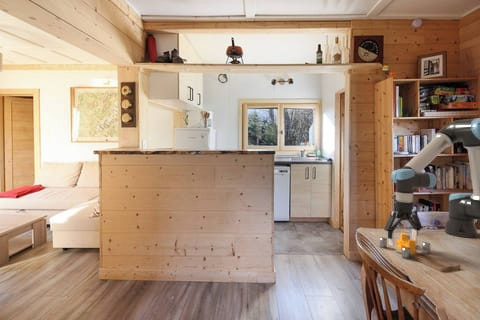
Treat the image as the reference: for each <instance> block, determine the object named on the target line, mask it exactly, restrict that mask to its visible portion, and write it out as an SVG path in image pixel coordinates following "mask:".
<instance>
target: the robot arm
mask: <svg viewBox="0 0 480 320" xmlns="http://www.w3.org/2000/svg"><path fill="white" fill-rule="evenodd" d="M455 143H462V145H463V146H462V147H463V148H464V149H466V150H467V154H468V162H469V170H470V176H471V177H470V179H471V185H472V192H471V193H470V192H469V193H468V192H456V193H454V192H453V193H450V194H449V197H448V219H447V222H446V224H445V226H444V232H445V234H448V235H449V236H450V235H451V236H454V237H455V236H456V237H459V238H477V237H478V230H477V227H476V224H475V220H476V221H477V220H478V221H480V117H479V118H477V117H476V118H468V119H467V118H466V119H457V120H453V121H452V122H449V123H447V124H446V125H445V126H443V127H442V128H441V129H439V130H438V131H437V132H436V133H435V134H434V136H433V138H432V139H431V140H430V141H429V142H428V143H427V144H426V145H425V146H424V147H423V148H422V149H421V150H419V152H417V153H416V154H415V155H414V156H413V158H411V159H410V160H409V161H408V162H407V163H406V164H405V165H404V166H403V167H402V168H398V169H394V170H393V171H392V172H391V175H390V178H391V181H392V182H393V183H395V184H396V185H395V200H396V201H395V205H394V207H395V209H396V210H395V211H393V210H391V211H390V212H389V217H388V219H387V222H386V224H385V226H384V228H383V230H384V231H386V232H387V238H388V246H389V245H390V246H391V247H394V246H395V232H394V231H395V230H396V228H397V227H398V226H399V224H400V223H401V222H402V221H407V222H408V223H409V224H410V226H411V227H412V228H411V236H410V238H411V239H410V240H415V241H416V243H415V245H416V244H418V237H419V231H421V229H422V228H423V226H422V223H421V220H420V218H419V215H418V210H416V209H414V202H413V201H414V193H415V192H414V190H415V189H432V188H435V186H436V185H437V181H438V180H437V179H438V178H437V177H436V175H435V174H434V173H432V172H422V171H423V170H424V169H425V168H426V167H427V166H429V164H430V163H431V162H432V161H434V159H436V157H438V156H439V155H440V154H441V153H442V152H443V151H445V149H446V148H449V147H451V146H452V145H454V144H455Z"/></svg>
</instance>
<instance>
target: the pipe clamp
mask: <svg viewBox="0 0 480 320" xmlns="http://www.w3.org/2000/svg"><path fill="white" fill-rule="evenodd" d="M407 235H408V234H407V233H406V232H405V233H401V232H400V236H399V239H398V238H397V239H396V247H398V248H399V250H401V251H402V247H408V248H410V254H414V253H416V244H415V243H416V241H415V240H411V239H410V240H408V237H407Z"/></svg>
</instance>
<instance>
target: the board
mask: <svg viewBox="0 0 480 320" xmlns="http://www.w3.org/2000/svg"><path fill="white" fill-rule="evenodd" d="M410 259H412V260H415V261H417V262H419V263H421V264H424V265H426V266H427V267H429V268H432V269H434V270H437V271H438V272H441V273H442V272H449V271H455V270H461V264H457V265H456V264H453V263H450V262H447V261H445V260H442V259H441V258H438V257H436V256H434V255H431V254H428V252H422V251H421V252H415V253H414V254H410Z"/></svg>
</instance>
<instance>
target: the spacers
mask: <svg viewBox="0 0 480 320" xmlns="http://www.w3.org/2000/svg"><path fill="white" fill-rule="evenodd" d="M407 237H408V240H411V239H410V238H411V236H410V235H408V234H407ZM387 238H388V237H387ZM387 238H386V237H385V236H384V237H383V236H382V237H379V248H381V249H387V248H388V247H387V246H388V245H387V244H388V243H387V242H388V241H387V240H388V239H387ZM421 247H422V248H421V253H422V252H428V254H429V255H431V243H430V242H427V241H422V243H421ZM401 258H402V259H405V260H410V259H411V258H410V248H408V247H402V250H401Z"/></svg>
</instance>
